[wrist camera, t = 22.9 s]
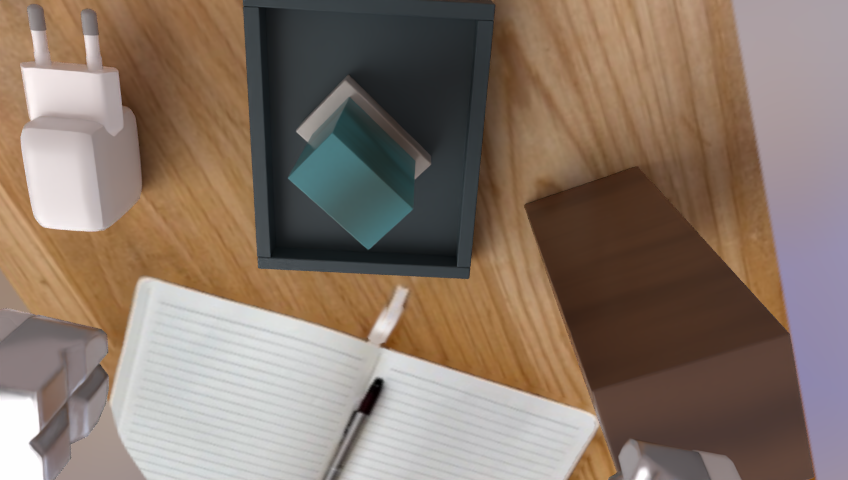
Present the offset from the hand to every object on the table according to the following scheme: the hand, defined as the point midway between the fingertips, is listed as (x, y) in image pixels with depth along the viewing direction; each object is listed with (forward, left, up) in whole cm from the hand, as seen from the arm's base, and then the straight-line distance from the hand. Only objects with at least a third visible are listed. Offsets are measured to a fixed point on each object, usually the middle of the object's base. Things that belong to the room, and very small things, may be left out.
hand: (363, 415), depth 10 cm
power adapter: (+3, -17, -29) cm, 34 cm away
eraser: (+4, -2, -28) cm, 29 cm away
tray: (+4, -2, -29) cm, 29 cm away
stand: (+9, +12, -29) cm, 33 cm away
